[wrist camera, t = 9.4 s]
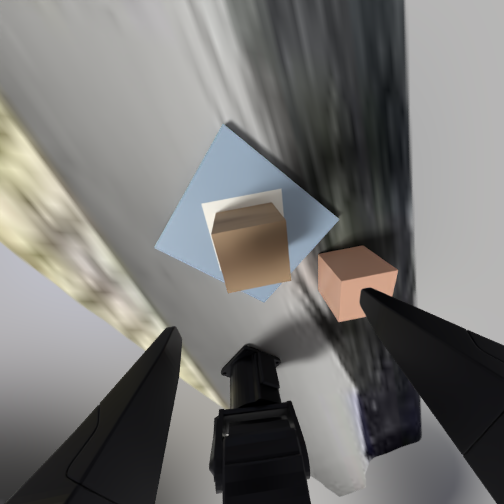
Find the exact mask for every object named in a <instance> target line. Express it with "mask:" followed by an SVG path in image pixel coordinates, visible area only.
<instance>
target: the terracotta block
mask: <svg viewBox="0 0 504 504" xmlns="http://www.w3.org/2000/svg"><path fill="white" fill-rule="evenodd" d="M397 273H398V270H397V269H396V268H394V267H393V266H392V265H390V264H389V263H387V262H386V261H384V260H383V259H382V258H380V257H379V256H377V255H376V254H375V253H373V252H372V251H370V250H369V249H368V248H366V247H365V246H363V245H362V246H357V247H352V248H347V249H342V250H336V251H331V252H326V253H321V254H318V290H319V292H320V293H321V295H322V297H323V298H324V300H325V301H326V303H327V304H328V306H329V308H330V309H331V311H332V312H333V314H334V315H335V317H336V319H337V320H338V322H342V321H347V320H352V319H357V318H362V317H366V315H365V313H364V312H363V310H362V308H361V306H360V303H359V300H360V293H361V290H362V289H364V288H369V287H371V288H373V289H376V290H378V291H380V292H383V293H385V294H387V295H389V296H392V295H393V290H394V286H395V282H396V277H397Z"/></svg>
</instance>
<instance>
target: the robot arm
mask: <svg viewBox="0 0 504 504" xmlns="http://www.w3.org/2000/svg"><path fill="white" fill-rule="evenodd" d="M359 303H360V306H361V308H362V310H363V312H364V313H365V315H366V317H367V319H368V320H369V322H370V324H371V326H372V327H373V329H374V331H375V332H376V334H377V336H378V337H379V339H380V340H381V342H382V343H383V344H384V346H385V347H386V349H387V350H388V351H389V353H390V354H391V356H392V357H393V358H394V360H395V361H396V363H397V364H398V365H399V367H400V368H401V370H402V371H403V372H404V374H405V375H406V377H407V378H408V379H409V381H410V382H411V384H412V385H413V386H414V388H415V389H416V391H417V392H418V393H419V395H420V396H421V398H422V399H423V400H424V402H425V403H426V405H427V406H428V407H429V409H430V410H431V412H432V413H433V414H434V416H435V417H436V419H437V420H438V421H439V423H440V424H441V425H442V427H443V428H444V430H445V431H446V432H447V434H448V435H449V437H450V438H451V440H452V441H453V442H454V444H455V445H456V447H457V448H458V449H459V451H460V452H461V454H463V457H464V458H465V460H466V461H467V462H468V464H469V465H470V467H471V468H472V469H473V471H474V472H475V474H476V475H477V476H478V478H479V479H480V481H481V482H482V483H483V485H484V486H485V488H486V489H487V490H488V492H489V493H490V495H491V496H492V497H493V499H494V500H495V501H496V503H497V504H504V345H502V344H499V343H497V342H495V341H492V340H490V339H488V338H485V337H483V336H480V335H478V334H476V333H474V332H471V331H469V330H466V329H464V328H462V327H460V326H458V325H455V324H453V323H451V322H449V321H446V320H444V319H442V318H439V317H437V316H435V315H433V314H430V313H428V312H425V311H423V310H421V309H419V308H417V307H414V306H412V305H410V304H408V303H405V302H403V301H401V300H398V299H396V298H394V297H392V296H389V295H387V294H385V293H383V292H380V291H378V290H376V289H373V288H371V287H369V288H364V289H362V290H361V293H360V300H359ZM181 349H182V338H181V335H180V333H179V331H178V329H177V328H176V327H175V326H172V327H168V328H166V329H165V330H164V331H163V332H162V333H161V334H160V335H159V337H158V338H157V339H156V340H155V341H154V342H153V343H152V344H151V346H150V347H149V348H148V349H147V350H146V351H145V353H144V354H143V355H142V356H141V357H140V358H139V359H138V361H137V362H136V363H135V364H134V365H133V366H132V367H131V369H130V370H129V371H128V372H127V373H126V374H125V375H124V377H122V379H121V380H120V381H119V382H118V383H117V384H116V385H115V387H114V388H113V389H112V390H111V391H110V392H109V393H108V394H107V396H106V397H105V398H104V399H103V400H102V401H101V402H100V405H98V406H97V407H96V408H95V409H94V410H93V411H92V413H91V414H90V415H89V416H88V417H87V418H86V419H85V421H84V422H83V423H82V424H81V425H80V426H79V427H78V428H77V429H76V430H75V432H74V433H73V434H72V435H71V436H70V437H69V438H68V439H67V440H66V441H65V442H64V443H63V444H62V445H61V446H60V447H59V448H58V449H57V450H56V452H54V454H53V455H52V456H51V457H50V458H49V459H48V460H47V461H46V462H45V463H44V464H43V465H42V466H41V467H40V468H39V469H38V470H37V471H36V472H35V473H34V474H33V475H32V476H31V477H30V478H29V479H28V480H27V481H26V482H25V483H24V484H23V485H22V486H21V487H20V488H19V489H18V490H17V492H16V493H15V494H14V495H13V496H12V497H11V498H10V499H9V500H8V501H7V502H6V503H5V504H155V500H156V494H157V489H158V484H159V479H160V474H161V468H162V463H163V457H164V453H165V448H166V442H167V437H168V431H169V427H170V421H171V416H172V411H173V406H174V400H175V395H176V390H177V384H178V379H179V372H180V361H181ZM280 363H281V362H280V359H279V358H277V357H274V356H272V355H269V354H267V353H264V352H261V351H259V350H256V349H254V348H251V347H248V346H245V347H243V348H242V349H241V350H240V351H239V352H238V353H237V354H236V355H235V356H234V357H233V359H232V360H231V361H230V362H229V363H228V364H227V365H226V366H225V367H224V368H223V369H222V370H221V374H222V375H223V376H227V377H230V409H226V410H224V409H220V410H219V415H218V416H217V417H216V418H215V419H214V435H213V443H212V449H211V456H210V463H209V470H210V471H211V473H212V474H213V476H214V482H215V486H216V494H218V493H223V504H311V501H310V496H309V490H308V485H307V479H309V478H310V466H309V459H308V453H307V449H306V445H305V441H304V437H303V434H302V431H301V428H300V425H299V422H298V419H297V416H296V413H295V411H294V408H293V405H292V402H291V401H287V402H283V403H281V399H280V394H279V388H280V386H279V381H278V376H277V372H276V367H277V366H278V365H279V364H280ZM226 434H229V436H226Z"/></svg>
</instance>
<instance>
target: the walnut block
mask: <svg viewBox="0 0 504 504" xmlns="http://www.w3.org/2000/svg"><path fill="white" fill-rule="evenodd" d="M211 236H212V239H213V243H214V246H215V250H216V253H217V257H218V260H219V264H220V267H221V271H222V274H223V278H224V281H225V285H226V288H227V292H228V293H232V292H237V291H242V290H247V289H252V288H257V287H262V286H267V285H272V284H277V283H282V282H287V281H291V273H290V261H289V249H288V238H287V226H286V219H285V218H284V217H283V216H282V214H281V213H280V212H279V211H278V210H277V208H276V207H275V206H274V205H273V203H272V202H270V203H265V204H259V205H254V206H249V207H244V208H239V209H233V210H228V211H223V212H218V213H216V214H215V219H214V223H213V228H212V232H211Z"/></svg>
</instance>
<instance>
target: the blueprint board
mask: <svg viewBox="0 0 504 504" xmlns="http://www.w3.org/2000/svg"><path fill="white" fill-rule="evenodd" d="M270 202H272V203H273V205H274V206H275V207H276V208H277V210H278V211H279V212H280V213H281V214H282V216H283V217H284V218H285V219H286V226H287V238H288V249H289V261H290V273H291V272H292V271H293V270H294V269H295V268H296V267H297V266H298V265H299V263H300V262H301V261H302V260H303V259H304V258H305V257H306V256H307V255H308V254H309V252H310V251H311V250H312V249H313V248H314V247H315V246H316V245H317V244H318V242H319V241H320V240H321V239H322V238H323V237H324V236H325V235H326V234H327V232H328V231H329V230H330V229H331V228H332V227H333V226H334V225H335V224H336V223H337V221H338V220H339V219H338V218H337V217H336V216H335V215H334V214H332V213H331V212H330V211H329V210H328V209H326V208H325V207H324V206H323V205H321V204H320V203H319V202H318V201H317V200H315V199H314V198H313V197H312V196H310V195H309V194H308V193H307V192H306V191H304V190H303V189H302V188H301V187H300V186H298V185H297V184H296V183H295V182H293V181H292V180H291V179H290V178H289V177H287V176H286V175H285V174H284V173H282V172H281V171H280V170H279V169H278V168H276V167H275V166H274V165H273V164H272V163H270V162H269V161H268V160H267V159H265V158H264V157H263V156H262V155H261V154H259V153H258V152H257V151H256V150H254V149H253V148H252V147H251V146H250V145H248V144H247V143H246V142H245V141H244V140H242V139H241V138H240V137H239V136H237V135H236V134H235V133H234V132H233V131H231V130H230V129H229V128H228V127H226V126H225V125H224V124H223V125H222V126H221V128H220V130H219V132H218V134H217V135H216V137H215V139H214V141H213V143H212V144H211V146H210V148H209V150H208V152H207V153H206V155H205V157H204V159H203V161H202V162H201V164H200V166H199V168H198V170H197V171H196V173H195V175H194V177H193V179H192V180H191V182H190V184H189V186H188V188H187V189H186V191H185V193H184V195H183V197H182V198H181V200H180V202H179V204H178V206H177V207H176V209H175V211H174V213H173V215H172V216H171V218H170V220H169V222H168V224H167V225H166V227H165V229H164V231H163V233H162V234H161V236H160V238H159V240H158V242H157V243H156V245H155V247H154V248H156V249H158V250H160V251H162V252H164V253H166V254H168V255H170V256H172V257H174V258H176V259H178V260H180V261H182V262H184V263H186V264H188V265H190V266H192V267H194V268H196V269H198V270H200V271H202V272H204V273H206V274H208V275H210V276H212V277H214V278H216V279H218V280H220V281H222V282H224V283H225V281H224V278H223V274H222V271H221V267H220V264H219V260H218V257H217V253H216V250H215V246H214V243H213V239H212V236H211V232H212V228H213V223H214V219H215V214H216V213H218V212H223V211H228V210H233V209H239V208H244V207H249V206H254V205H259V204H265V203H270ZM280 284H281V283H277V284H272V285H267V286H262V287H257V288H252V289H247V290H242V292H244V293H246V294H248V295H250V296H252V297H254V298H256V299H258V300H260V301H262V302H265V301H266V300H267V299H268V298H269V297H270V296H271V294H272V293H273V292H274V291H275V290H276V289H277V288H278V287H279V286H280Z"/></svg>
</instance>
